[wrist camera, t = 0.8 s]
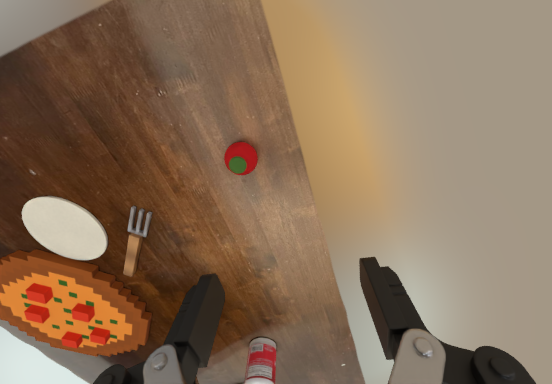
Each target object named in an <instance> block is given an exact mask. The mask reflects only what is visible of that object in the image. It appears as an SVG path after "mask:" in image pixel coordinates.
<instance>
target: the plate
mask: <svg viewBox="0 0 552 384" xmlns="http://www.w3.org/2000/svg"><path fill="white" fill-rule="evenodd" d="M22 219H23V222H24V224H25V226H26V228H27V230H28V231H29V232H30V234H31V235H32V236H33V237H34V238H35V239H36V240H37V241H38V242H39V243H41V244H42V245H43V246H45V247H46V248H48V249H49V250H51V251H53V252H55V253H57V254H59V255H61V256H64V257H67V258H71V259H76V260H91V259H95V258H97V257H99V256H101V255H102V254H103V253H104V252H105V251H106V249H107V246H108V237H107V234H106V231H105V229H104V227H103V226H102V224H101V223H100V222H99V221H98V220H97V219H96V218H95V217H94V216H93V215H92V214H91V213H90V212H89V211H87V210H86V209H84V208H83V207H81V206H79V205H78V204H76V203H74V202H71V201H69V200H66V199H63V198H59V197H54V196H41V197H36V198H34V199H32V200H30V201H28V202H27V203H26V204H25V205H24V207H23V210H22Z"/></svg>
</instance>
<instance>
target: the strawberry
mask: <svg viewBox="0 0 552 384" xmlns="http://www.w3.org/2000/svg"><path fill="white" fill-rule="evenodd" d="M224 160H225V164H226V166H227V168H228V169H229V170H230V171H231V172H232V173H234V174H237V175H246V174H249V173H250V172H252V171H253V170H254V169H255V167H256V165H257V161H258V157H257V153H256V151H255V149H254V148H253V147H252V146H251V145H249V144H248V143H245V142H237V143H234V144H232V145H231V146H229V147H228V149H227V150H226V152H225V157H224Z"/></svg>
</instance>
